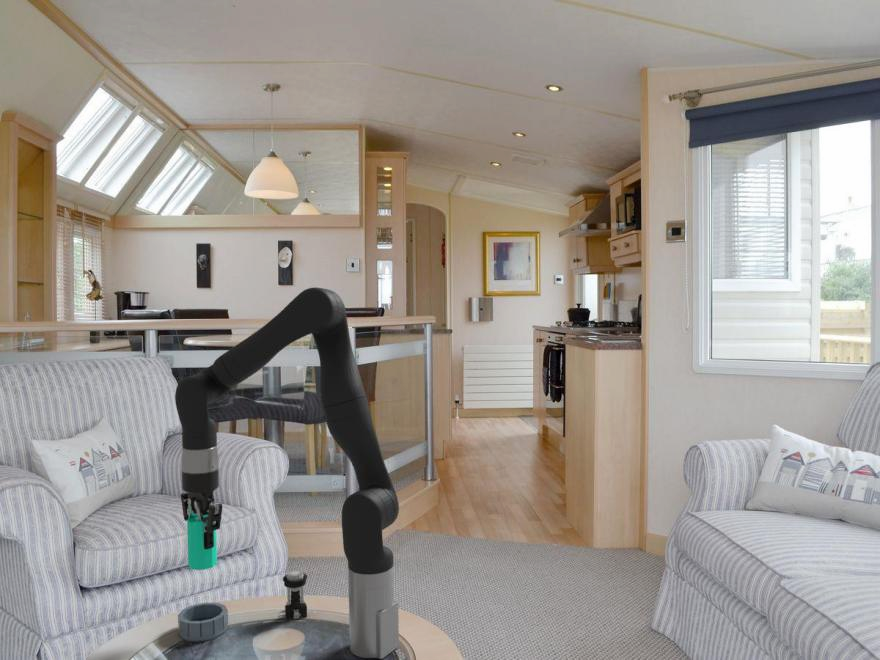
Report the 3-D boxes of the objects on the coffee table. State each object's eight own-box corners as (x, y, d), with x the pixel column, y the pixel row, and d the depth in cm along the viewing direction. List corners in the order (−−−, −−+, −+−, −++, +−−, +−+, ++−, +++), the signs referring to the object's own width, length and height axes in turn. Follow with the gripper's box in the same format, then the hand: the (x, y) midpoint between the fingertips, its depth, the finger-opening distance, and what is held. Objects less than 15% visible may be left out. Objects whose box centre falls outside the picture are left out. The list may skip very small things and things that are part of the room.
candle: (204, 557, 167) (202, 504, 166) (223, 562, 163) (222, 508, 162) (182, 566, 161) (180, 511, 160) (201, 572, 158) (200, 516, 157)
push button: (278, 623, 166) (277, 579, 165) (277, 613, 171) (275, 570, 170) (309, 619, 168) (308, 575, 167) (306, 609, 173) (305, 567, 172)
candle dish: (237, 626, 165) (236, 609, 164) (200, 646, 156) (199, 627, 156) (206, 616, 170) (205, 598, 170) (169, 634, 162) (168, 616, 161)
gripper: (233, 470, 158) (235, 549, 160) (199, 458, 168) (201, 532, 170) (200, 477, 153) (202, 558, 154) (167, 464, 163) (169, 541, 164)
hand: (202, 544), depth 162 cm, fingers closed on candle, 4 cm apart
